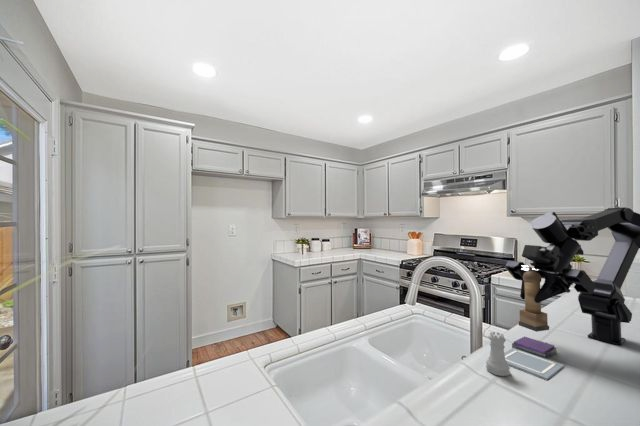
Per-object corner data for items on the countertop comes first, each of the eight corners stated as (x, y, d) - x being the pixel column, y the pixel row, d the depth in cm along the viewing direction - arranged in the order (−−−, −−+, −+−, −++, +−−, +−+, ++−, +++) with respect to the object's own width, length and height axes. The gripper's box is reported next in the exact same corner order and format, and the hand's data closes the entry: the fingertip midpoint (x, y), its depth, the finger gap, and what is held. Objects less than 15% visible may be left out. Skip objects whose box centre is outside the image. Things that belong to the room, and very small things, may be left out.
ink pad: (523, 342, 73) (523, 335, 73) (556, 352, 67) (556, 345, 68) (512, 348, 70) (511, 341, 70) (545, 359, 64) (545, 352, 64)
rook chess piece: (514, 378, 56) (513, 339, 56) (490, 375, 57) (489, 337, 57) (504, 367, 60) (503, 331, 60) (482, 365, 61) (481, 329, 61)
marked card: (513, 349, 69) (513, 347, 69) (564, 366, 60) (564, 364, 60) (494, 359, 64) (494, 357, 64) (546, 380, 55) (546, 377, 55)
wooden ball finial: (531, 323, 71) (529, 268, 72) (549, 329, 67) (547, 271, 68) (518, 325, 70) (516, 269, 71) (536, 331, 66) (534, 272, 67)
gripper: (508, 233, 80) (479, 272, 76) (584, 235, 62) (551, 286, 59) (529, 259, 82) (502, 298, 78) (609, 268, 64) (578, 320, 60)
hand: (528, 299), depth 69 cm, fingers closed on wooden ball finial, 3 cm apart
